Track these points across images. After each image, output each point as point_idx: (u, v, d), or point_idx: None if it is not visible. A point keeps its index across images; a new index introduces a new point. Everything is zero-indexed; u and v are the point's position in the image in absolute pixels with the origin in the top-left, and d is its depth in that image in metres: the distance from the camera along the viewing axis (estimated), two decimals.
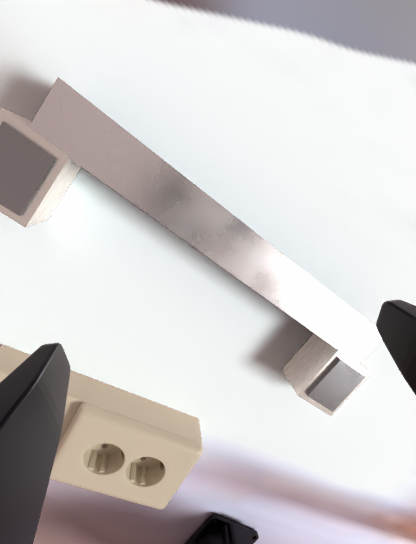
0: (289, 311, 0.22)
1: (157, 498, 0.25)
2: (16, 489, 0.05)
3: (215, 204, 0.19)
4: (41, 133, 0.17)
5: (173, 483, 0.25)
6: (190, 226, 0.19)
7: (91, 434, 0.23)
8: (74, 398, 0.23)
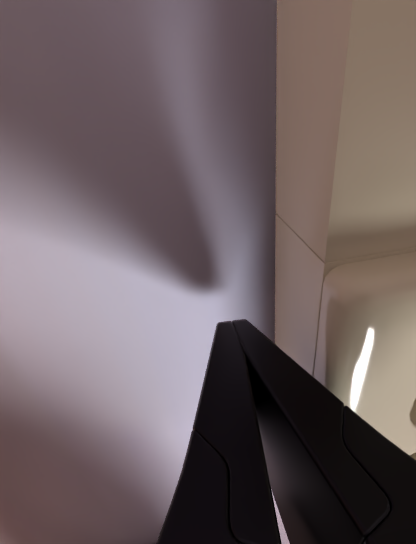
0: None
1: None
2: None
3: None
4: None
5: None
6: None
7: None
8: None
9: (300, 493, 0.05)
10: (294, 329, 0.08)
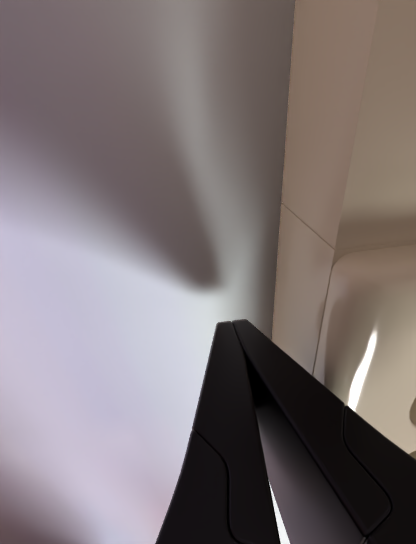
0: None
1: None
2: None
3: None
4: None
5: None
6: None
7: None
8: None
9: (301, 493, 0.05)
10: (295, 322, 0.08)
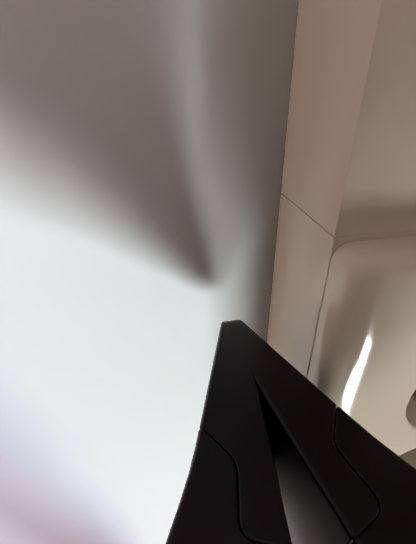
0: None
1: None
2: None
3: None
4: None
5: None
6: None
7: None
8: None
9: (292, 495, 0.05)
10: (292, 315, 0.08)
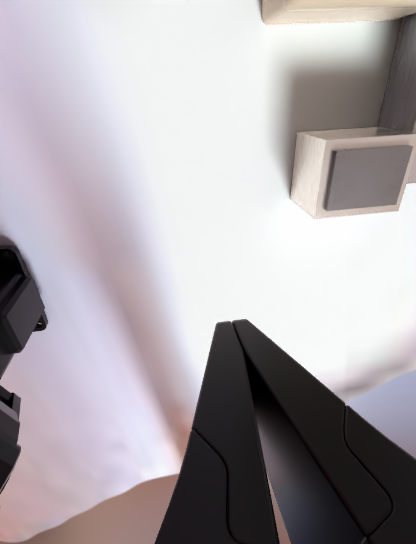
0: None
1: None
2: None
3: None
4: None
5: None
6: None
7: None
8: None
9: (301, 493, 0.05)
10: None
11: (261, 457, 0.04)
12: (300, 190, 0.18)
